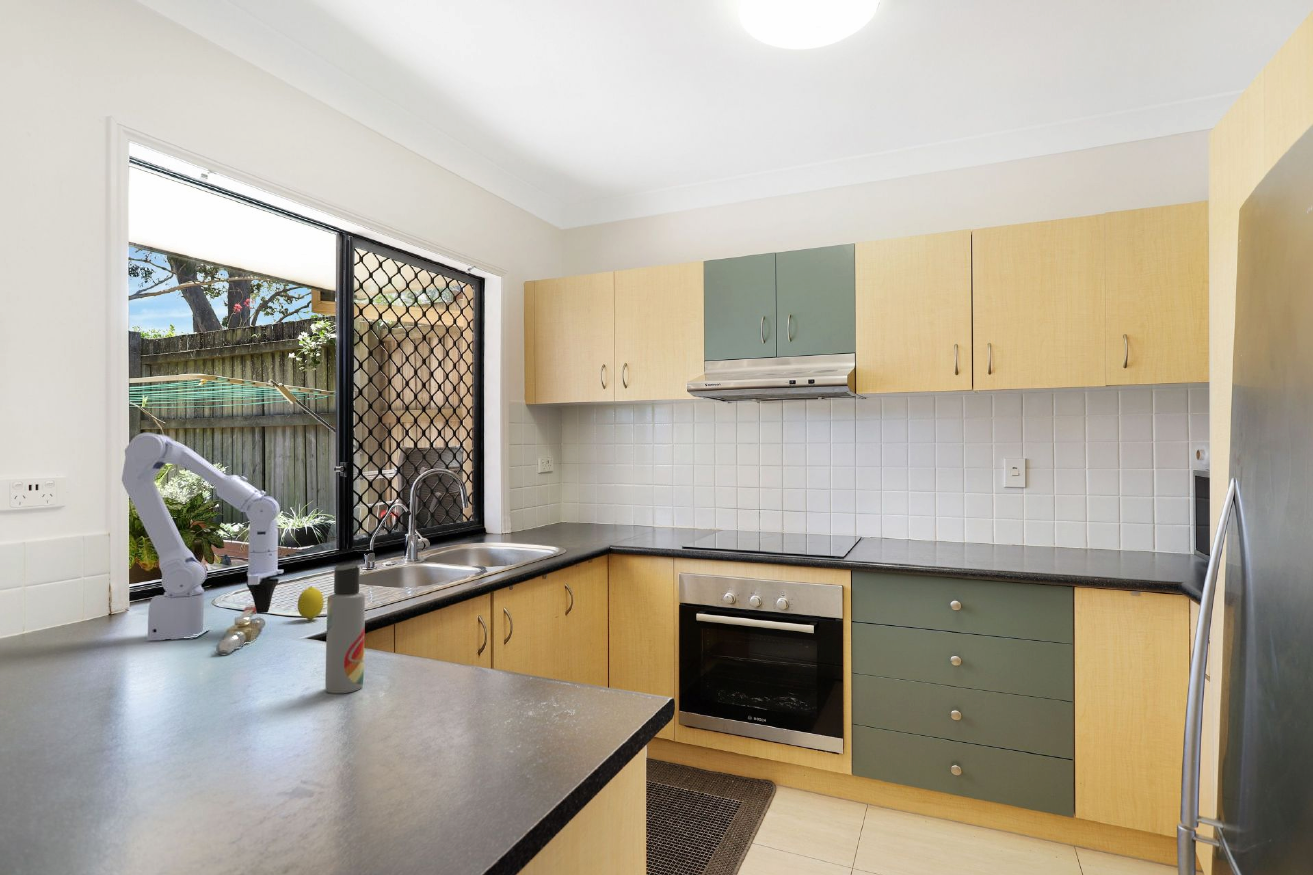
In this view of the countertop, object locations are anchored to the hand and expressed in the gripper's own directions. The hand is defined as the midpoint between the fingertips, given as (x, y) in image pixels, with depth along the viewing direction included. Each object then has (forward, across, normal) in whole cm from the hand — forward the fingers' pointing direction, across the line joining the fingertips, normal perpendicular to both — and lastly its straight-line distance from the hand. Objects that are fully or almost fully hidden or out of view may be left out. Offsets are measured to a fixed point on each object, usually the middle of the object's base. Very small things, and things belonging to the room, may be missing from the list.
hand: (262, 612), depth 156 cm
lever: (0, -5, +2) cm, 5 cm away
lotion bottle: (+4, -50, -25) cm, 56 cm away
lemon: (+4, +8, -8) cm, 12 cm away
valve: (+4, -10, +1) cm, 11 cm away
